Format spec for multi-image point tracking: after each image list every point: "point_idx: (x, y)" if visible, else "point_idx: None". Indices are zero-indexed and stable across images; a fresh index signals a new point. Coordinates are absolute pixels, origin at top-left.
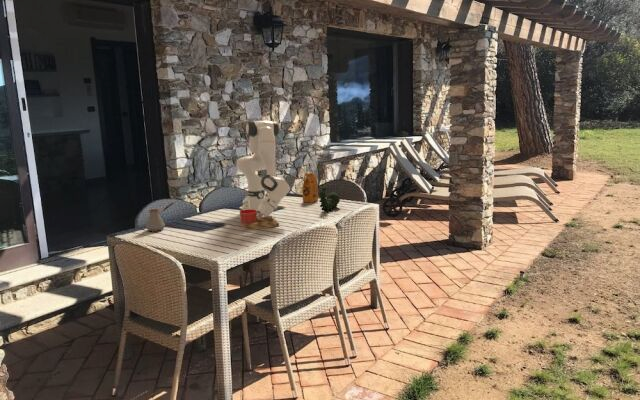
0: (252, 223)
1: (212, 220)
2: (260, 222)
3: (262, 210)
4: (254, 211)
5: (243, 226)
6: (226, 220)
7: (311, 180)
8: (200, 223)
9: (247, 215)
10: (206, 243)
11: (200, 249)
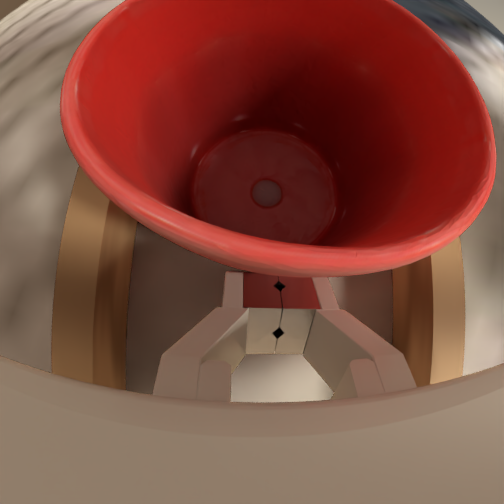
0: (80, 182)
1: (488, 71)
2: (67, 303)
3: (9, 434)
4: (417, 225)
5: (246, 127)
6: (495, 115)
7: None
8: (436, 21)
9: (115, 50)
10: (47, 13)
11: (11, 22)
